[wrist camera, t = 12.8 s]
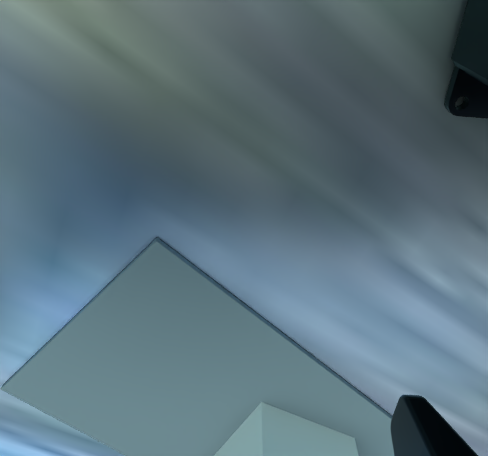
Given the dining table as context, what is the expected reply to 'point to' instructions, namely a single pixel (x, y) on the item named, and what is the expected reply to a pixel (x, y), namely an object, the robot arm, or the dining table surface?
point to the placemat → (183, 368)
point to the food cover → (285, 437)
